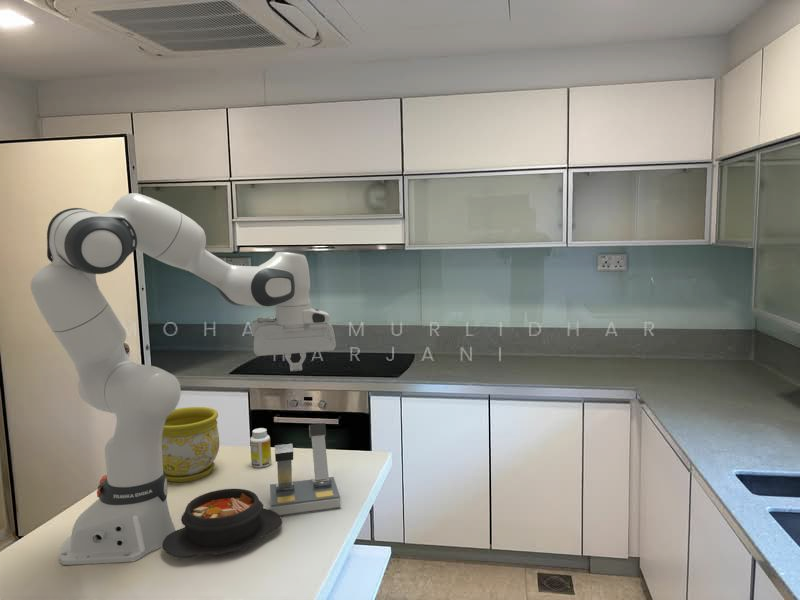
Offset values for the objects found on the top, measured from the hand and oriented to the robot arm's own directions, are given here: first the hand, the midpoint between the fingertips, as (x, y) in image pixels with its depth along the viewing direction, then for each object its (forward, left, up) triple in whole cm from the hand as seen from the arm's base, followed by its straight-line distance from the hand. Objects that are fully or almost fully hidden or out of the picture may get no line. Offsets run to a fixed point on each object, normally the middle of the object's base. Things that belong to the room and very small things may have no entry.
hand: (296, 370), depth 150 cm
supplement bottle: (-10, +20, -31) cm, 38 cm away
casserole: (-18, -21, -31) cm, 42 cm away
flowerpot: (-30, +20, -31) cm, 48 cm away
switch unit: (0, -8, -31) cm, 32 cm away
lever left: (-4, -8, -27) cm, 29 cm away
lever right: (+5, -8, -27) cm, 29 cm away
